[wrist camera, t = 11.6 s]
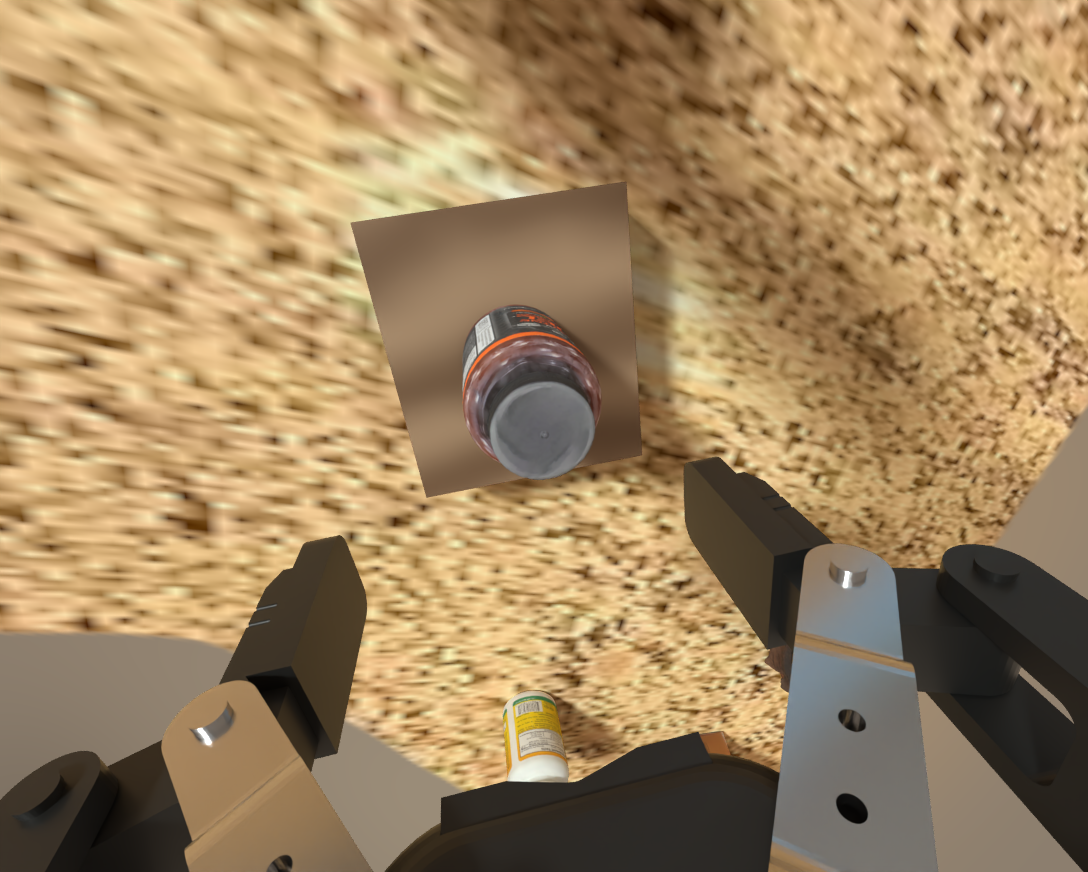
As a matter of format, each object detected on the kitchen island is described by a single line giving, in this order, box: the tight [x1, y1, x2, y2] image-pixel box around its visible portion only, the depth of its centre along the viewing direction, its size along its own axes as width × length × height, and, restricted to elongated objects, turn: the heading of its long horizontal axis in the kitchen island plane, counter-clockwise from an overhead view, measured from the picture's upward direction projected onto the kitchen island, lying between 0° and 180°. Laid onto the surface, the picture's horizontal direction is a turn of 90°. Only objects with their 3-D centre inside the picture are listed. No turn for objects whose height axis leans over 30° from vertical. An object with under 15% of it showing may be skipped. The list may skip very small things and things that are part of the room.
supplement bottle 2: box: [503, 690, 569, 783], centre depth 45 cm, size 5×5×10 cm
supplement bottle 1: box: [462, 305, 602, 480], centre depth 24 cm, size 6×6×11 cm
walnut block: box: [351, 182, 642, 497], centre depth 31 cm, size 16×14×6 cm
